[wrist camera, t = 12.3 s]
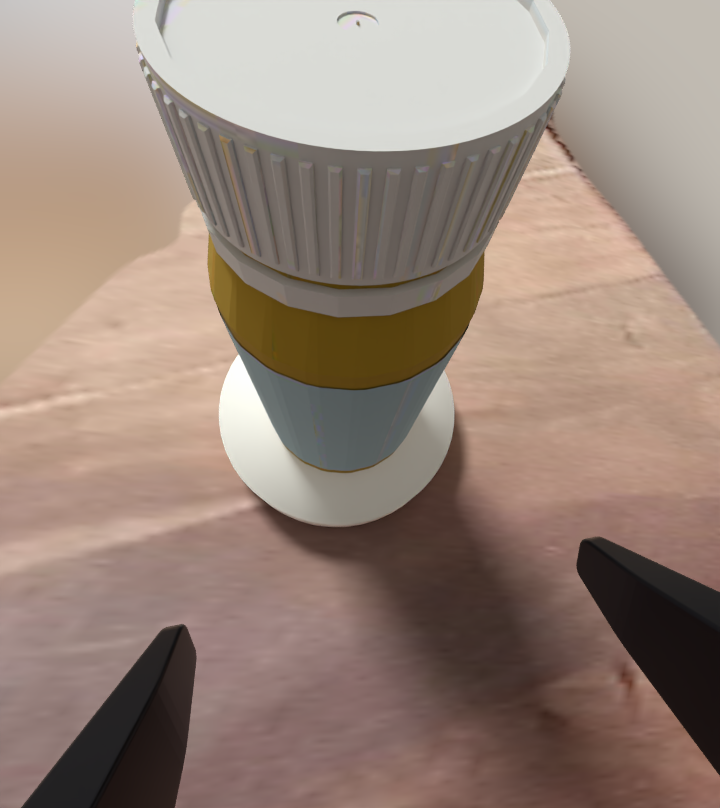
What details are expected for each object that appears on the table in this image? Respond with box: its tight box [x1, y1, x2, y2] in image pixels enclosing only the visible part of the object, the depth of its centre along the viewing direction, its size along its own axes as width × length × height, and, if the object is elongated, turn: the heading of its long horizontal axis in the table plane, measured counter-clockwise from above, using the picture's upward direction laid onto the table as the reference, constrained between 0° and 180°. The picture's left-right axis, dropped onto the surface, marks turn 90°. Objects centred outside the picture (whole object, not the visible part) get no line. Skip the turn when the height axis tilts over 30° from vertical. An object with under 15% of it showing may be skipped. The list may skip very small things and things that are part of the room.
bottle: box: [133, 0, 570, 473], centre depth 12 cm, size 7×7×15 cm
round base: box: [219, 354, 454, 527], centre depth 20 cm, size 12×12×2 cm
